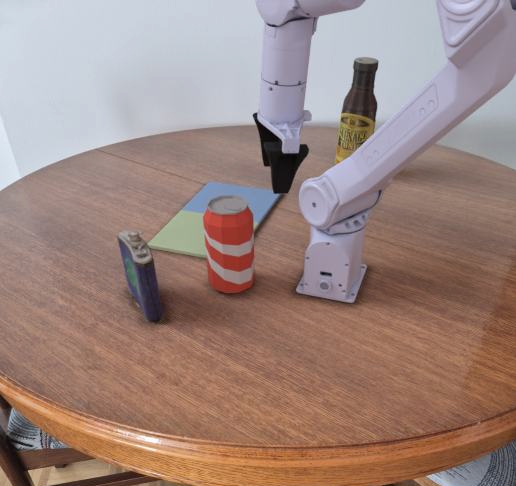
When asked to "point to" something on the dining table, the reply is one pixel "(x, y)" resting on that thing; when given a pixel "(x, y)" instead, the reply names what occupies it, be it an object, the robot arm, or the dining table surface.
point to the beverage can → (229, 243)
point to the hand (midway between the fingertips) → (275, 178)
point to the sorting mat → (191, 215)
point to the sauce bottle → (358, 109)
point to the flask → (141, 274)
